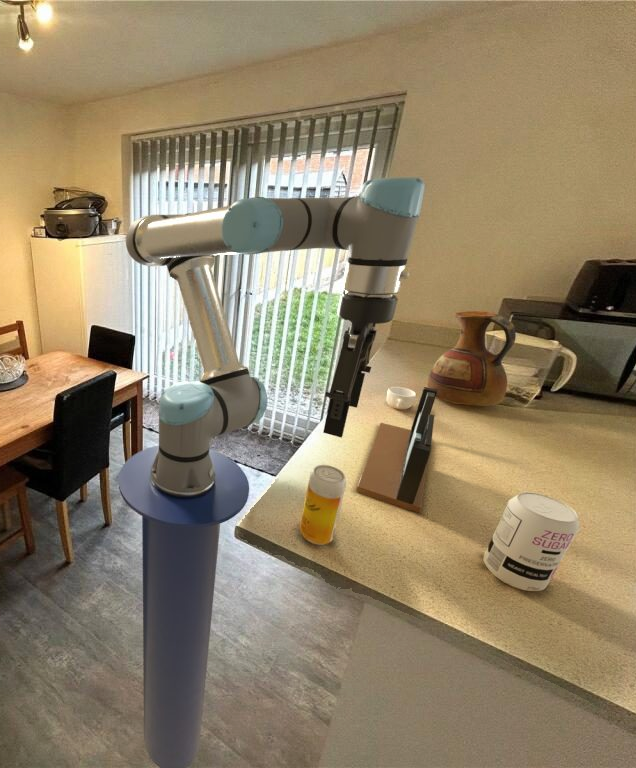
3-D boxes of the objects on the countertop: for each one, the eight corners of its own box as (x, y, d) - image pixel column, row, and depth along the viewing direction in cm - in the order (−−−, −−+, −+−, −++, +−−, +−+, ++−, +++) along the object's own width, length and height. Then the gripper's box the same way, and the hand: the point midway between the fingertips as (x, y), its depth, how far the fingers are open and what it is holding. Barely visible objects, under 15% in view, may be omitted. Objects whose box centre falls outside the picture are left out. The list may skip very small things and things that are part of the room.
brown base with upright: (356, 491, 90) (371, 434, 84) (379, 426, 116) (391, 379, 110) (419, 513, 83) (440, 452, 77) (428, 439, 110) (444, 389, 104)
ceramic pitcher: (439, 384, 144) (465, 303, 132) (509, 404, 128) (546, 314, 116) (412, 396, 135) (437, 310, 123) (484, 420, 119) (521, 324, 107)
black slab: (400, 482, 88) (426, 401, 80) (407, 450, 99) (430, 377, 91) (407, 484, 87) (433, 403, 79) (413, 452, 99) (436, 378, 91)
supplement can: (501, 550, 74) (532, 485, 68) (556, 586, 66) (596, 517, 60) (470, 561, 71) (499, 495, 65) (524, 600, 64) (563, 530, 58)
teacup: (385, 399, 133) (389, 384, 131) (412, 404, 129) (416, 390, 127) (382, 410, 126) (386, 395, 124) (411, 416, 122) (415, 401, 119)
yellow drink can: (300, 520, 82) (312, 460, 76) (332, 530, 79) (347, 468, 73) (297, 540, 77) (309, 477, 71) (331, 551, 74) (347, 487, 68)
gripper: (388, 311, 48) (351, 458, 56) (406, 283, 66) (376, 399, 74) (322, 304, 52) (298, 442, 61) (356, 280, 70) (333, 389, 78)
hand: (341, 418), depth 67 cm, fingers open, 12 cm apart
